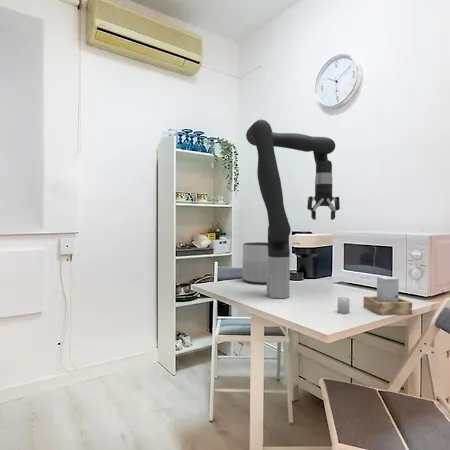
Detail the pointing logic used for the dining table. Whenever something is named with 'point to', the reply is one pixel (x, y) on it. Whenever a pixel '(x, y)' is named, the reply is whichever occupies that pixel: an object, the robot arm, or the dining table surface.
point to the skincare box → (387, 289)
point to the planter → (255, 262)
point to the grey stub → (343, 305)
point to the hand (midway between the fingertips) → (323, 219)
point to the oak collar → (387, 306)
